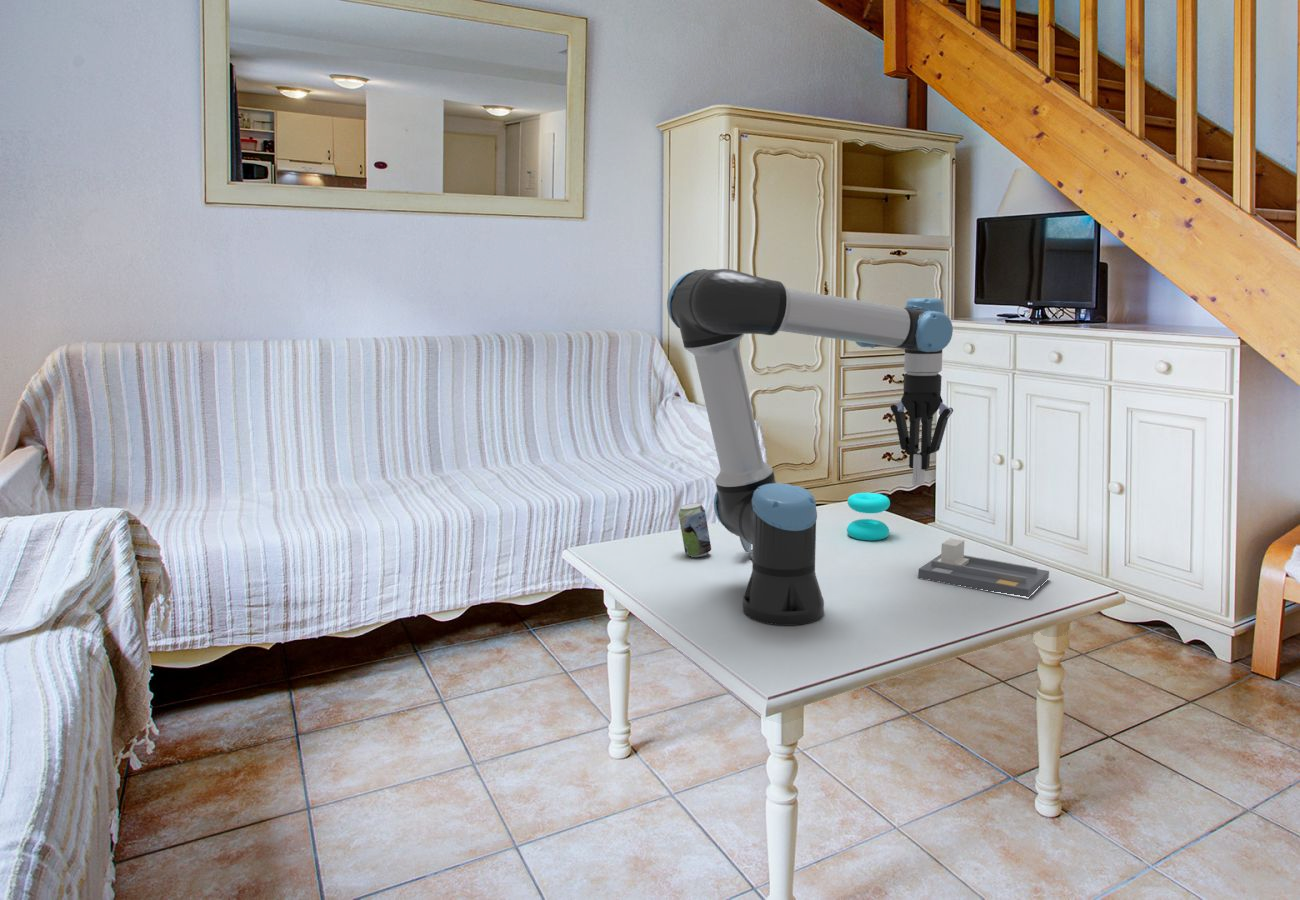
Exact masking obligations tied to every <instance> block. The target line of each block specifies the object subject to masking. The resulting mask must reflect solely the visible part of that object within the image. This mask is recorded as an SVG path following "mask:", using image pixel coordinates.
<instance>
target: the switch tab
mask: <svg viewBox="0 0 1300 900" xmlns="http://www.w3.org/2000/svg"><path fill="white" fill-rule="evenodd" d="M940 549H941V553H940V554H941V558H940V559H939V560H937V561H940V562H945V563H951V564H956V565H962V566H965V565H966V564H968V563H969V559H966V558H964V555H965V540H962V539H957V538H952V537H950V538H949V539H946V540H945V541H943V542H942V543H941V548H940Z"/></svg>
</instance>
